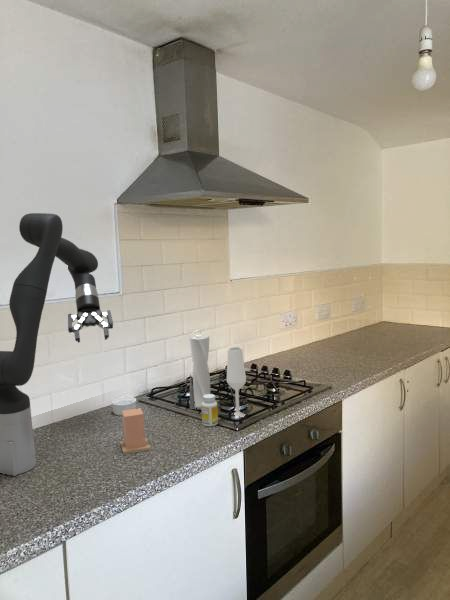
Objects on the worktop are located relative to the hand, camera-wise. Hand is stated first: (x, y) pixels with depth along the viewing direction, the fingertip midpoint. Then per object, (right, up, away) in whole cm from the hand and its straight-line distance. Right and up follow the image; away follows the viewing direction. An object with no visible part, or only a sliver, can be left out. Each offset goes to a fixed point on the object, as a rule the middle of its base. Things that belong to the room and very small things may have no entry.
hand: (92, 339), depth 159 cm
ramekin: (+6, -28, +21) cm, 36 cm away
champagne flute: (+47, -28, +11) cm, 56 cm away
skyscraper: (+34, -27, +24) cm, 50 cm away
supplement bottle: (+38, -29, +6) cm, 48 cm away
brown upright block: (+15, -31, -10) cm, 36 cm away
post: (+15, -32, -10) cm, 36 cm away
